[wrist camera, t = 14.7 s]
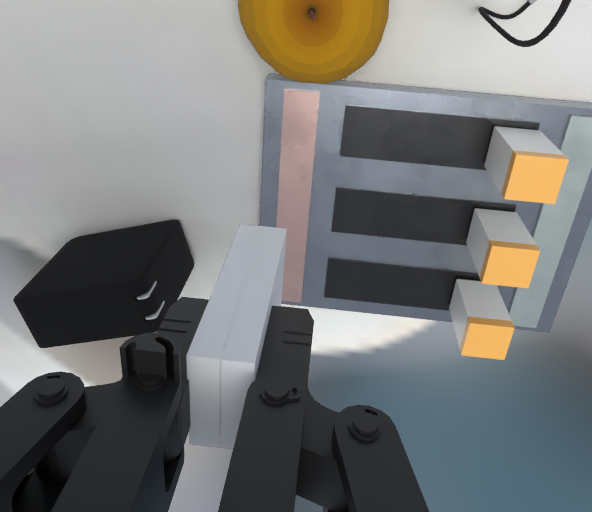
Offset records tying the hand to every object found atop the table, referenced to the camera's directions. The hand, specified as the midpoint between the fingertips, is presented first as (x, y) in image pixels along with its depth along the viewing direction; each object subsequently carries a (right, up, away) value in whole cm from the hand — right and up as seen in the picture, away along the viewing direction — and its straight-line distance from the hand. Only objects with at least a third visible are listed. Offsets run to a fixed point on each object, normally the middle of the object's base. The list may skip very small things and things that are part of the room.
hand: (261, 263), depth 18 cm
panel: (+11, +4, +25) cm, 27 cm away
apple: (+3, +17, +19) cm, 25 cm away
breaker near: (+16, +8, +20) cm, 26 cm away
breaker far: (+15, -3, +26) cm, 30 cm away
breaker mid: (+15, +2, +23) cm, 27 cm away
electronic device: (-12, +1, +29) cm, 32 cm away
